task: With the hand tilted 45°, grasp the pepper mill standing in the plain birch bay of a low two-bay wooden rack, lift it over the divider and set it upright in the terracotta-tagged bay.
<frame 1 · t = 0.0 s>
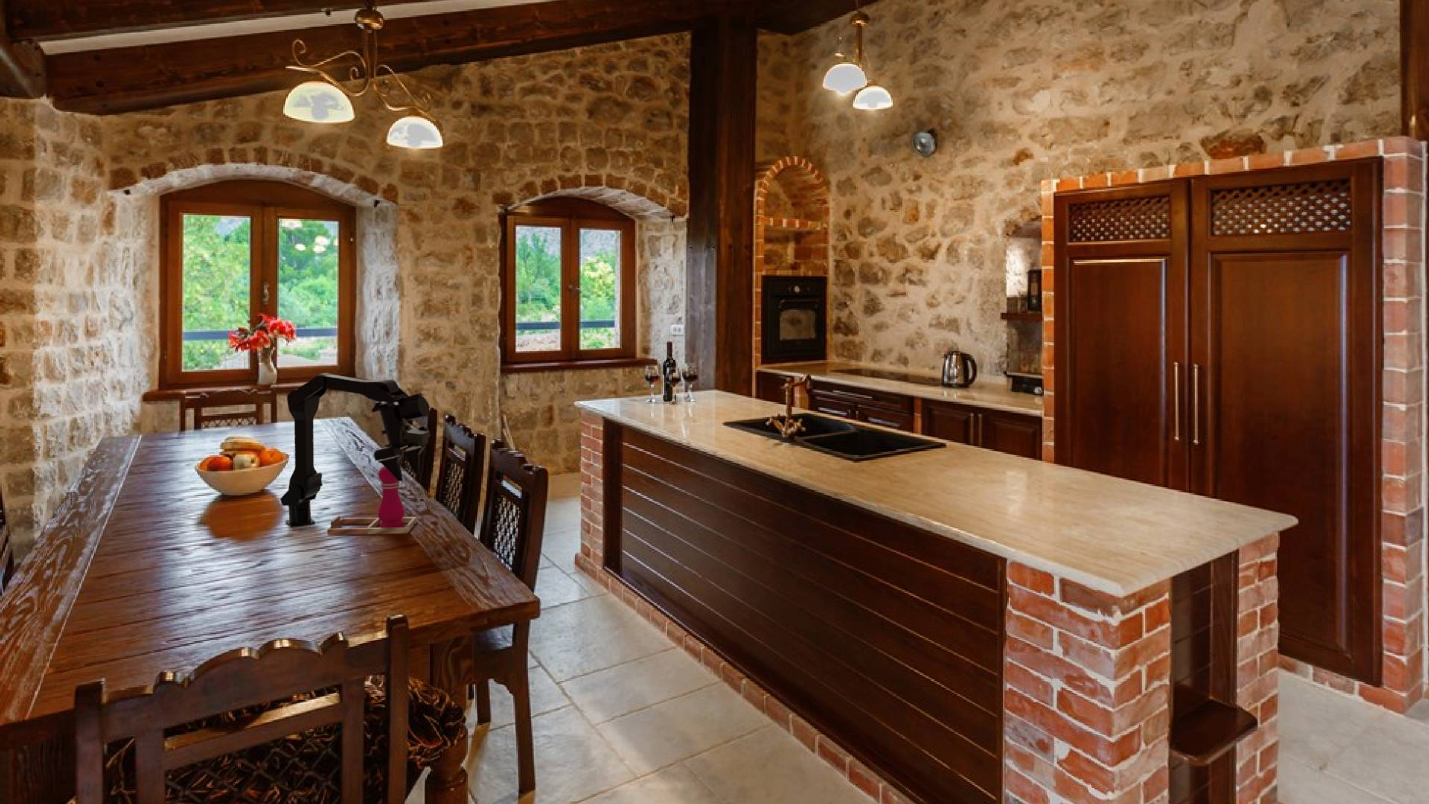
hand: (409, 477, 231), 15 cm above the table, tool pointing down, fingers open, 9 cm apart
rack: (373, 528, 234), on the table
pepper mill: (392, 528, 235), resting in rack
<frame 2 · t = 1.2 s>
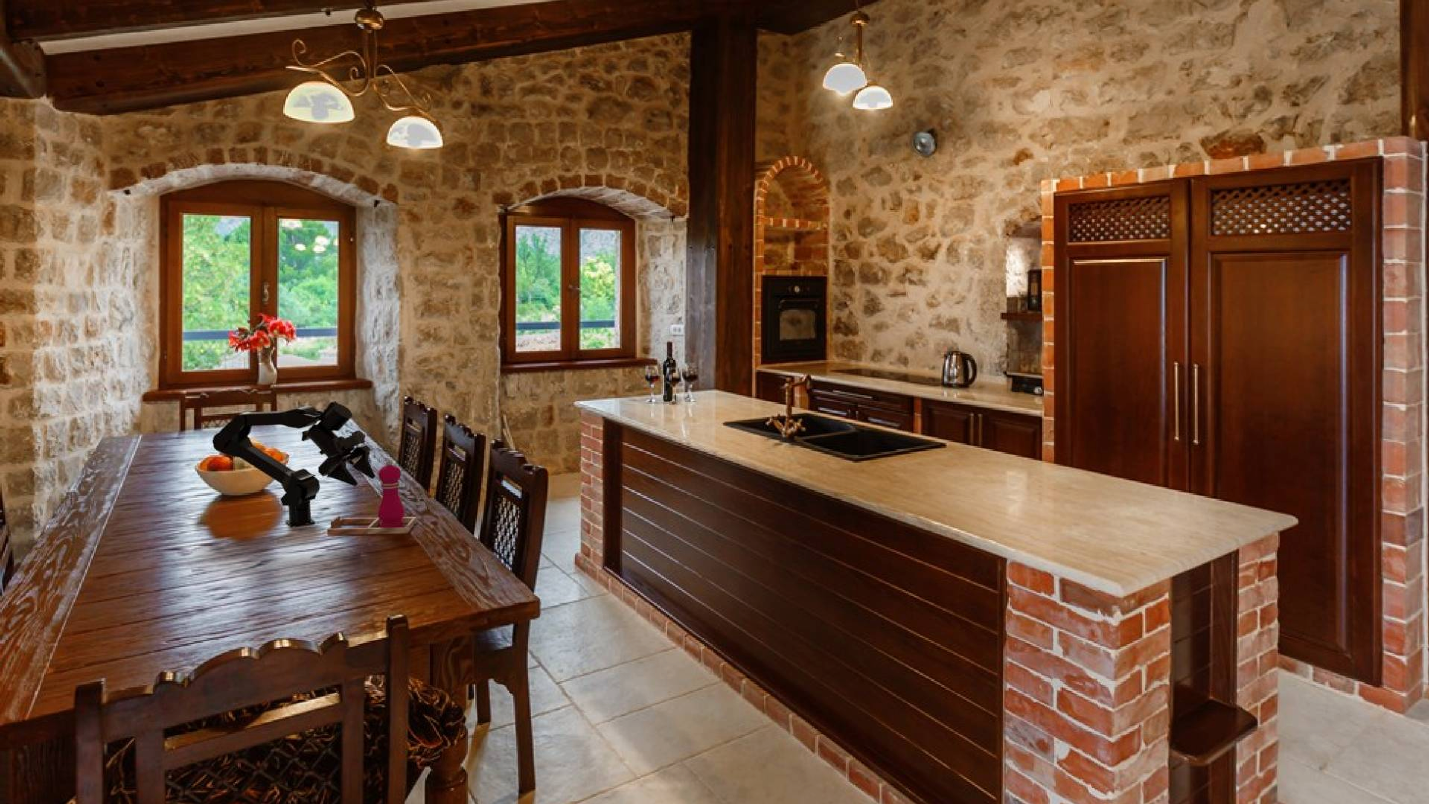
hand: (365, 481, 234), 13 cm above the table, tool tilted 45°, fingers open, 9 cm apart
nothing on the table moved.
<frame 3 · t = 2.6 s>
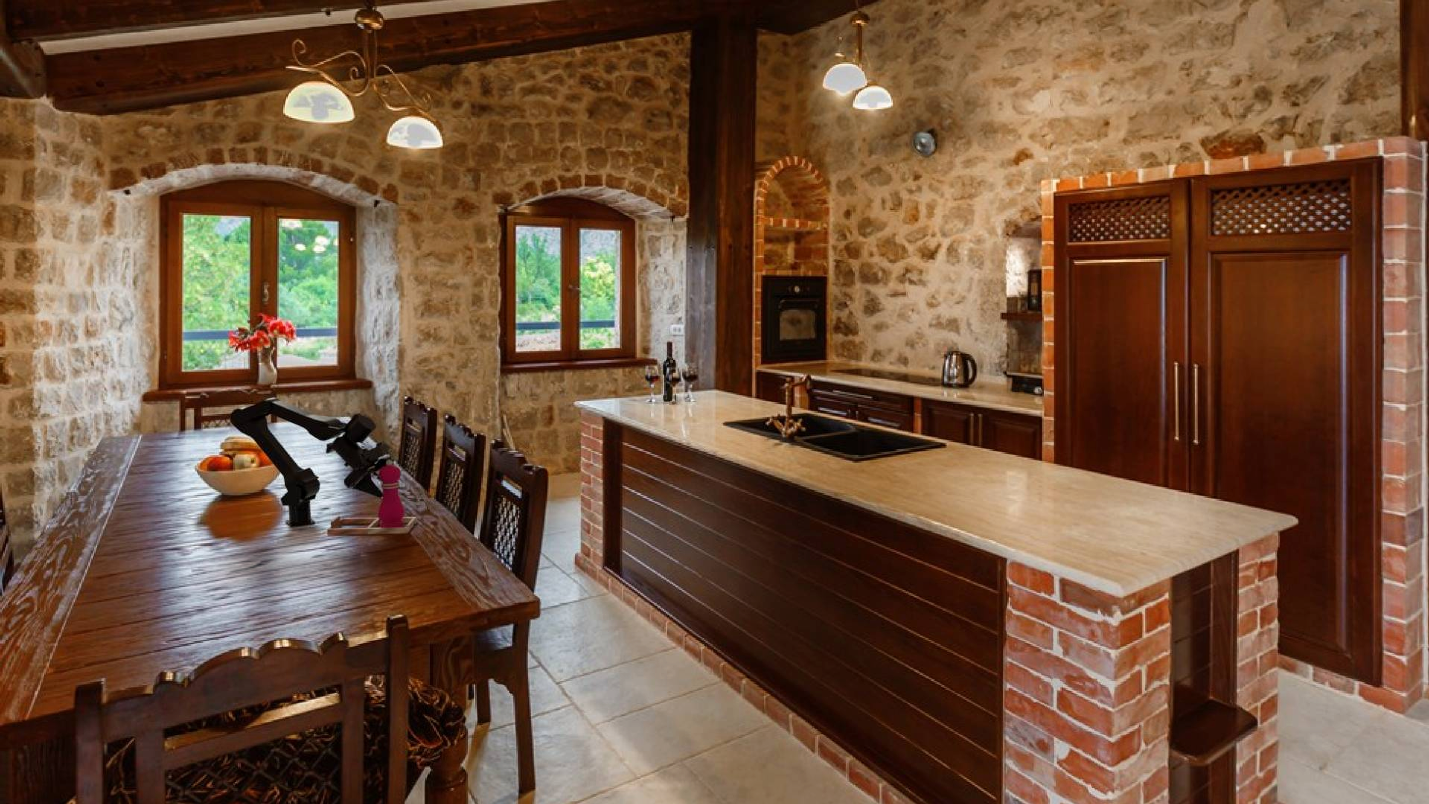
hand: (390, 492, 233), 10 cm above the table, tool tilted 45°, fingers open, 9 cm apart
nothing on the table moved.
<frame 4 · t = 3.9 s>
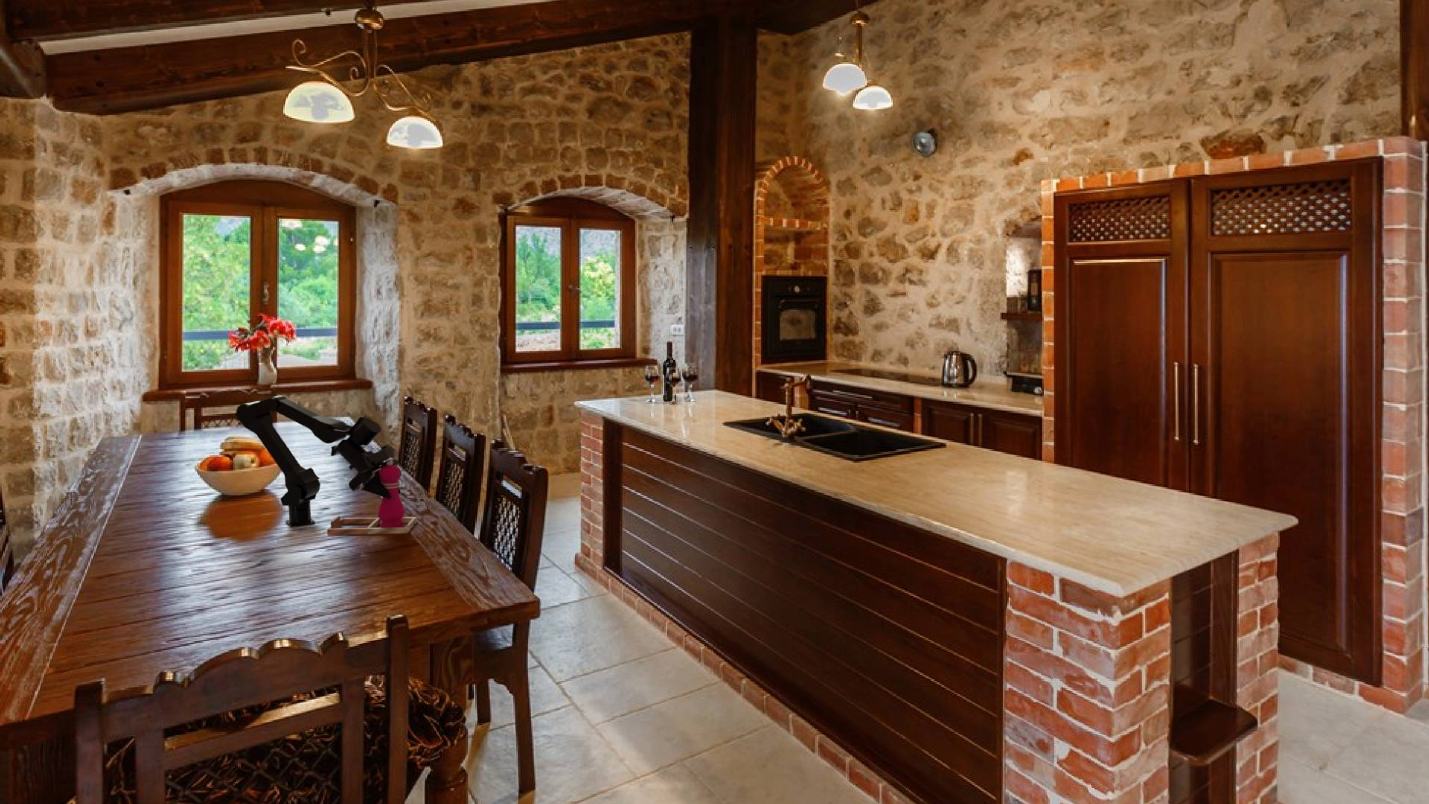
hand: (395, 495, 233), 10 cm above the table, tool tilted 45°, fingers closed on pepper mill, 5 cm apart
pepper mill: (392, 528, 235), resting in rack, touching gripper
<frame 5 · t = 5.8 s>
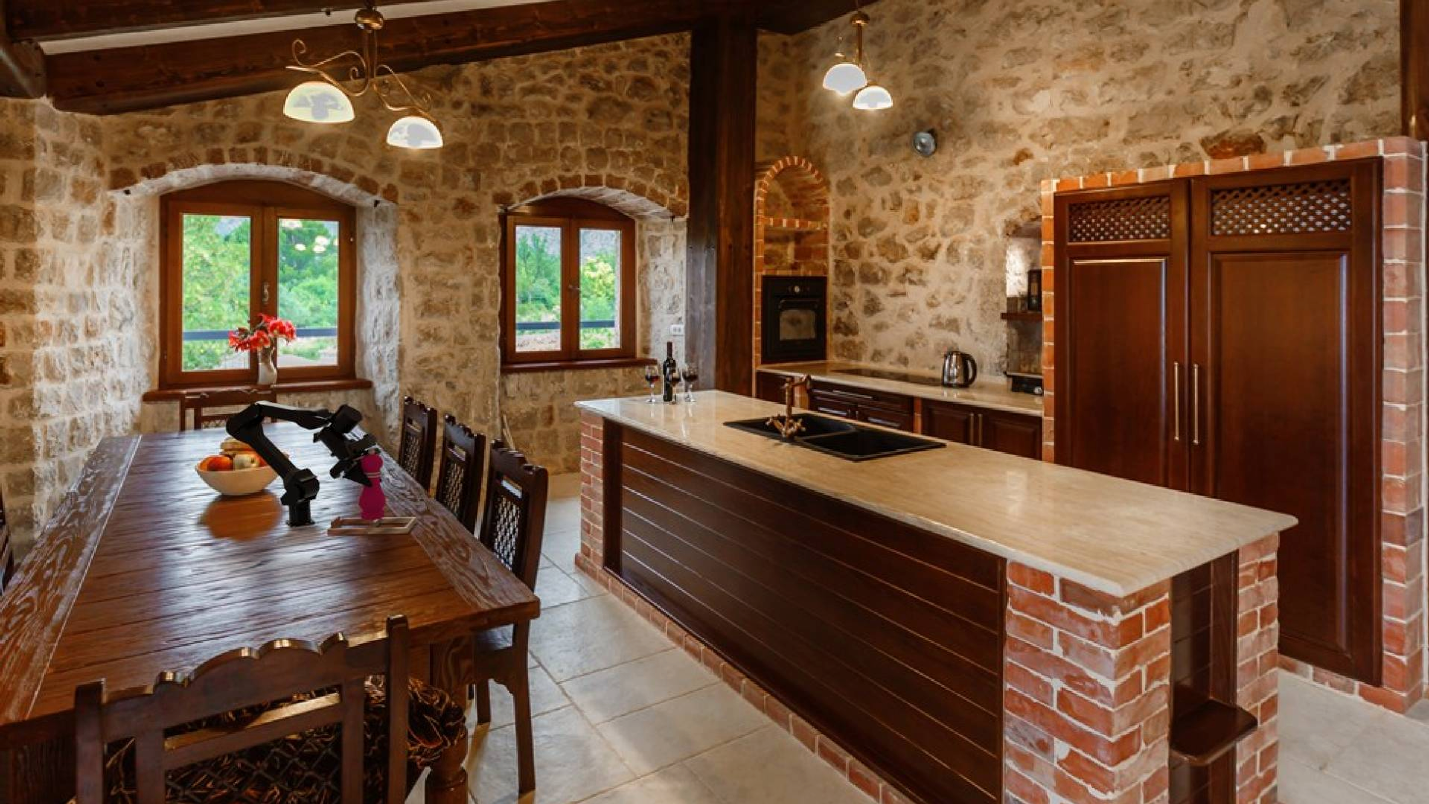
hand: (376, 484, 232), 13 cm above the table, tool tilted 45°, fingers closed on pepper mill, 5 cm apart
pepper mill: (372, 517, 234), point 3 cm above the table, touching gripper
when the fingers open (11 cm above the table, at t = 7.6 s): pepper mill drops 1 cm, resting in rack.
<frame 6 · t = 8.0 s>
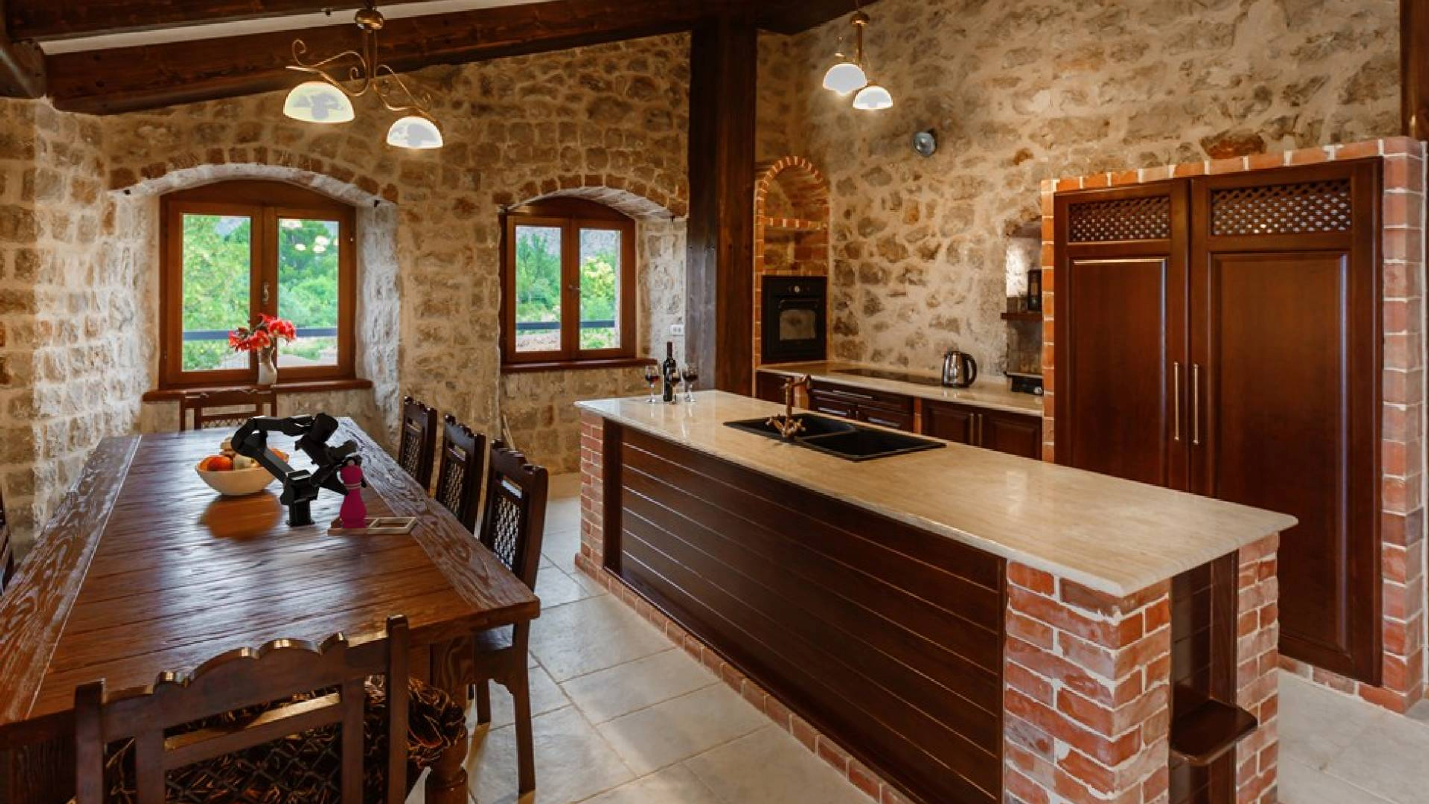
hand: (357, 491, 232), 11 cm above the table, tool tilted 45°, fingers open, 9 cm apart
pepper mill: (354, 528, 234), resting in rack
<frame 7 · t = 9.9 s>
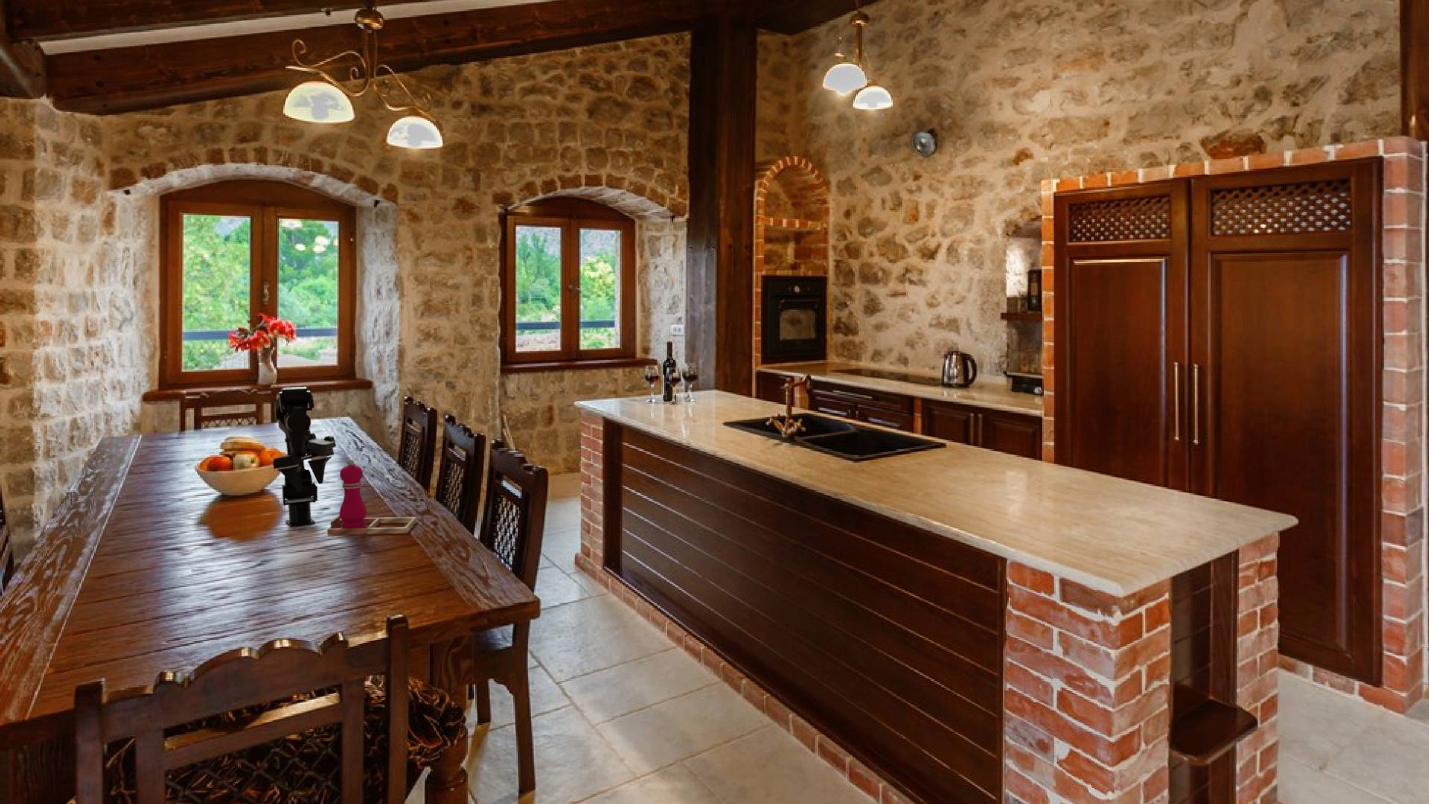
hand: (310, 487, 227), 13 cm above the table, tool pointing down, fingers open, 9 cm apart
nothing on the table moved.
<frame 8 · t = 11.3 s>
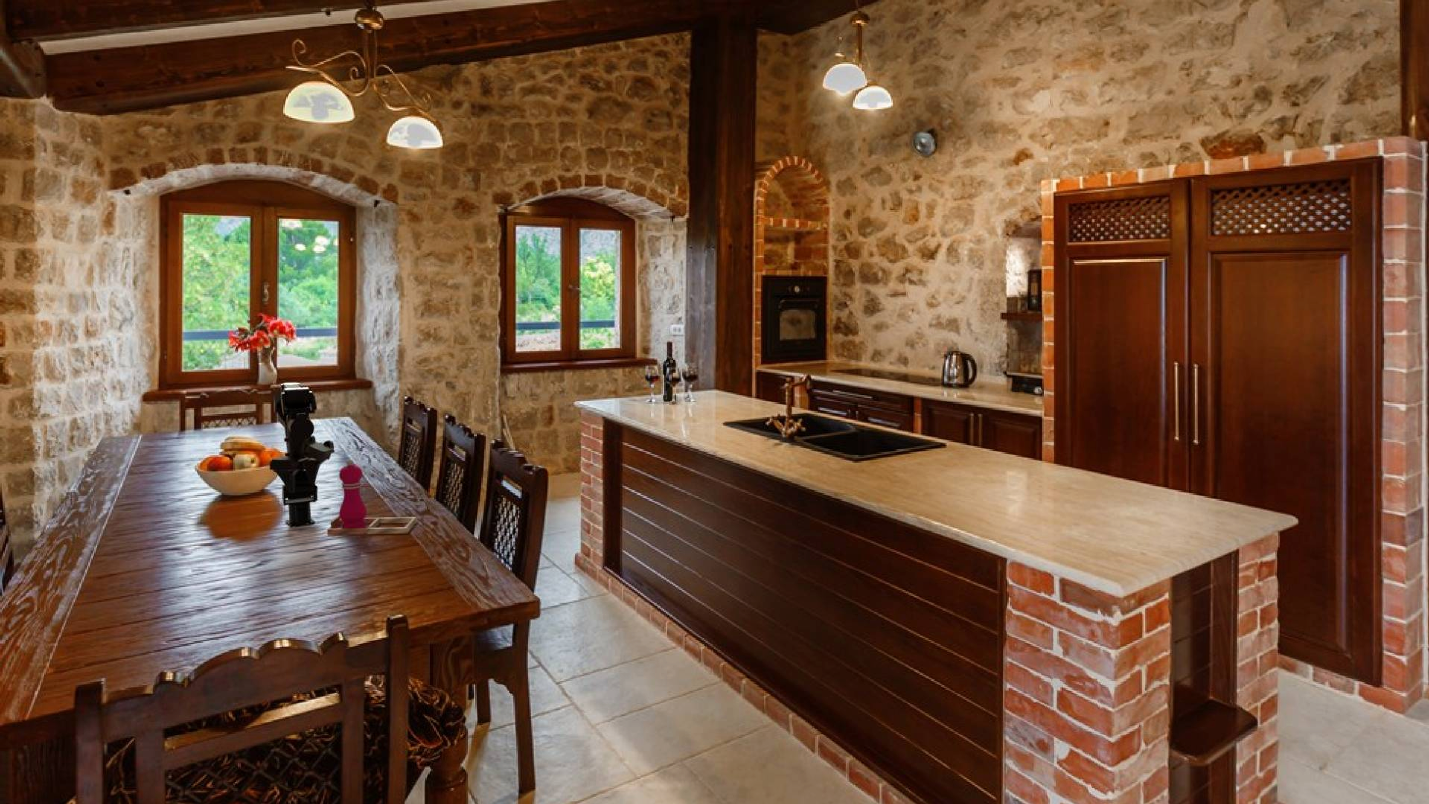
hand: (302, 488, 226), 13 cm above the table, tool pointing down, fingers open, 9 cm apart
nothing on the table moved.
at the end: pepper mill 0.3 cm from the target spot, resting in rack; pepper mill tilted 0°; pepper mill touching table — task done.
